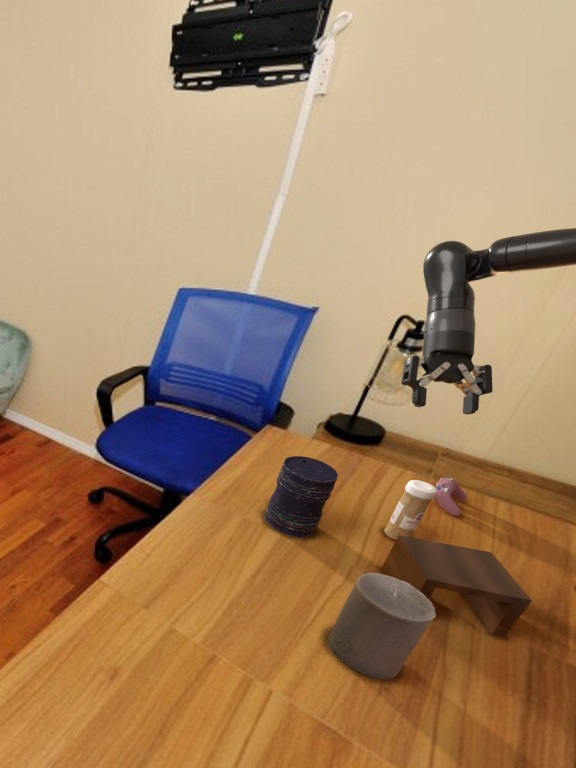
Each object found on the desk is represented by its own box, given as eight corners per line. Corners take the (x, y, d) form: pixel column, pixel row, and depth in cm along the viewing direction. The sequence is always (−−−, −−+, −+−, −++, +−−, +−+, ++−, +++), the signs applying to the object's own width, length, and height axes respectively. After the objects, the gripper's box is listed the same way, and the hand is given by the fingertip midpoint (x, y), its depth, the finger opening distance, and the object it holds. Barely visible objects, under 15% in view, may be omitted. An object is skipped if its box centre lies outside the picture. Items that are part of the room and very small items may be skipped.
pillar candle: (319, 650, 86) (351, 587, 79) (337, 619, 91) (368, 557, 84) (391, 692, 79) (433, 626, 72) (406, 656, 84) (446, 592, 78)
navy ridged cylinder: (323, 539, 109) (349, 483, 102) (274, 535, 111) (296, 480, 104) (302, 510, 118) (323, 457, 111) (256, 507, 120) (275, 454, 113)
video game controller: (442, 499, 124) (436, 472, 123) (468, 500, 120) (463, 472, 119) (433, 516, 118) (427, 488, 117) (461, 517, 114) (455, 489, 114)
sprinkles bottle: (404, 545, 107) (432, 494, 101) (379, 533, 111) (404, 483, 105) (413, 537, 110) (441, 487, 103) (388, 525, 113) (413, 476, 107)
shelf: (468, 587, 97) (491, 552, 93) (504, 637, 87) (532, 600, 83) (380, 569, 102) (398, 534, 98) (405, 615, 92) (426, 579, 88)
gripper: (422, 324, 103) (417, 400, 101) (506, 333, 100) (503, 412, 98) (396, 336, 110) (391, 407, 108) (474, 345, 107) (470, 419, 105)
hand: (444, 410), depth 103 cm, fingers open, 8 cm apart
